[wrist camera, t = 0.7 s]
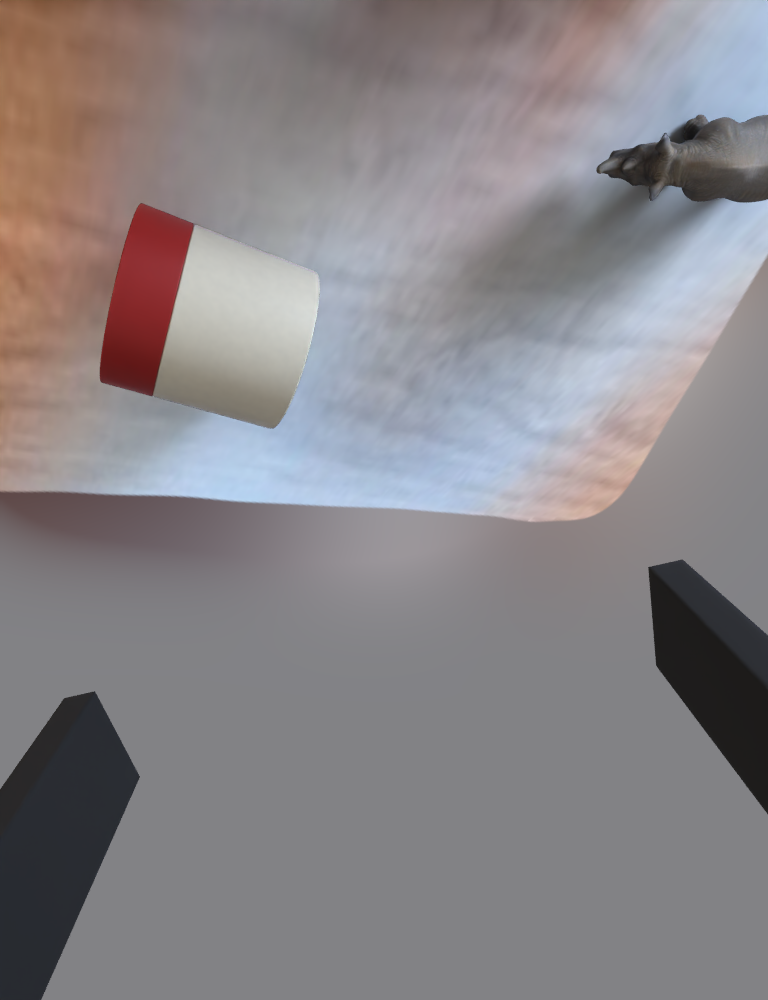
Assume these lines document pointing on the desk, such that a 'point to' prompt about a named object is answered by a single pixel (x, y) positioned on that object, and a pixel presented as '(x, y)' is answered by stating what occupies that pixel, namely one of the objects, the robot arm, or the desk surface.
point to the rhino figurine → (701, 161)
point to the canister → (208, 320)
